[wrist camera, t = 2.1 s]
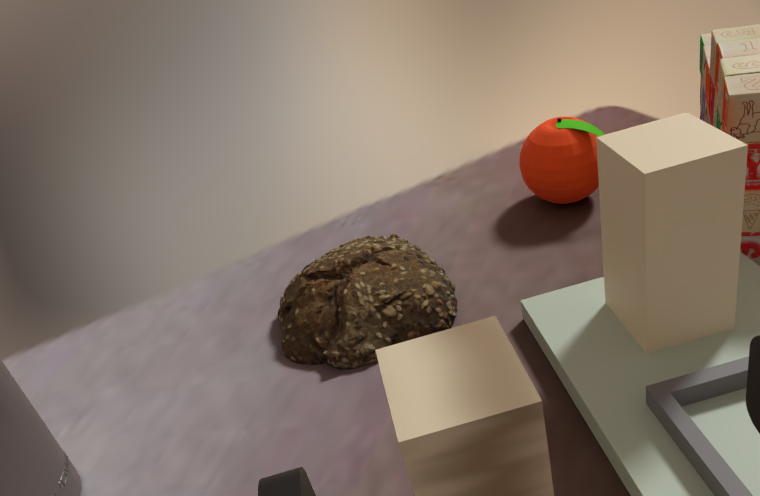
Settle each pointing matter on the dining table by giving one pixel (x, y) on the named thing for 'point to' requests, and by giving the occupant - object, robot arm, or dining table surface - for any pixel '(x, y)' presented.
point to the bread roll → (364, 302)
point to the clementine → (561, 160)
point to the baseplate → (631, 371)
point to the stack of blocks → (736, 110)
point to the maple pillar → (466, 414)
